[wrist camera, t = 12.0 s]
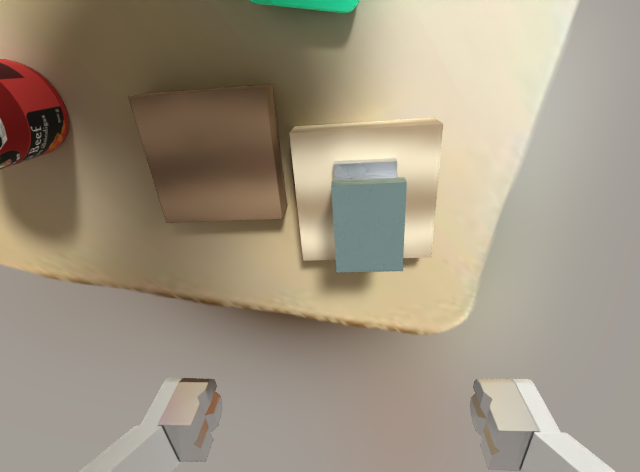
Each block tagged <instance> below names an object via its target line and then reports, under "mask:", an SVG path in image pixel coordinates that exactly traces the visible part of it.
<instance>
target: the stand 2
mask: <svg viewBox="0 0 640 472" xmlns="http://www.w3.org/2000/svg"><path fill="white" fill-rule="evenodd" d="M442 130H443V124H442V123H441V122H440V121H438V120H437V119H436V118H419V119H403V120H387V121H370V122H354V123H338V124H321V125H305V126H294V127H293V129H292V130H291V131H290V133H289V135H290V144H291V153H292V162H293V172H294V181H295V190H296V199H297V208H298V217H299V226H300V236H301V245H302V254H303V261H307V260H336V257H335V240H334V223H333V207H332V190H331V183H332V181H334V161H345V160H364V159H384V158H396V160H397V175H398V177H399V178H400V177H405V179H406V181H407V190H406V212H405V234H404V256H403V258H430V257H431V255H432V243H433V232H434V221H435V209H436V198H437V187H438V175H439V164H440V153H441V141H442Z"/></svg>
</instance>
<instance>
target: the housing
mask: <svg viewBox="0 0 640 472" xmlns="http://www.w3.org/2000/svg"><path fill="white" fill-rule="evenodd" d="M331 190H332V207H333V223H334V240H335V257H336V272H381V271H403V256H404V234H405V212H406V190H407V181H406V179H405V177H400V178H399V177H398V175H397V160H396V158H384V159H364V160H345V161H334V181H332V183H331Z"/></svg>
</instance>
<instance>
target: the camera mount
mask: <svg viewBox="0 0 640 472" xmlns="http://www.w3.org/2000/svg"><path fill="white" fill-rule="evenodd" d="M250 1H251V2H253V3H255V4H262V5H271V6H280V7H290V8H299V9H308V10H317V11H327V12H336V13H349V12H351V11H352V10H354V9H355V8H356V6H357V5H358V2H359V0H250Z"/></svg>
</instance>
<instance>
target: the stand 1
mask: <svg viewBox="0 0 640 472" xmlns="http://www.w3.org/2000/svg"><path fill="white" fill-rule="evenodd" d="M128 98H129V101H130V104H131V108H132V111H133V114H134V117H135V121H136V124H137V127H138V131H139V134H140V137H141V141H142V144H143V147H144V150H145V154H146V157H147V160H148V164H149V167H150V170H151V174H152V177H153V180H154V183H155V187H156V190H157V193H158V197H159V200H160V203H161V207H162V210H163V213H164V216H165V220H166V223H174V222H202V221H230V220H258V219H282V218H283V215H284V213H285V210H286V208H287V200H286V192H285V183H284V175H283V167H282V159H281V151H280V143H279V135H278V127H277V119H276V111H275V103H274V94H273V86H272V84H268V85H254V86H240V87H227V88H213V89H200V90H186V91H172V92H159V93H147V94H142V95H137V96H132V97H128Z"/></svg>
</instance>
